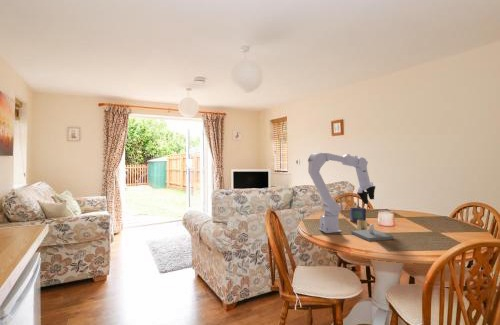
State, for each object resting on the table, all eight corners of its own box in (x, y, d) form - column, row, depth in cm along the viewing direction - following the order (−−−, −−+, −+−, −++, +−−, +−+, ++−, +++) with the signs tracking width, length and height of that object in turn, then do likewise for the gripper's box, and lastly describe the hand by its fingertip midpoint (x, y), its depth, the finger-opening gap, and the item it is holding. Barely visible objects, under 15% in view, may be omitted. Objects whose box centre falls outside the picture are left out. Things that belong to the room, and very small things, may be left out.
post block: (368, 241, 134) (368, 228, 134) (351, 233, 148) (351, 222, 148) (393, 239, 138) (393, 227, 138) (374, 232, 151) (374, 220, 151)
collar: (361, 231, 153) (361, 222, 153) (355, 228, 158) (355, 220, 158) (369, 230, 155) (369, 221, 155) (363, 228, 160) (363, 219, 160)
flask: (349, 221, 177) (350, 204, 177) (350, 220, 180) (350, 204, 180) (365, 223, 173) (365, 205, 173) (365, 222, 176) (365, 205, 176)
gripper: (364, 181, 149) (370, 205, 150) (376, 174, 159) (381, 197, 159) (352, 182, 155) (358, 205, 155) (364, 175, 164) (369, 197, 165)
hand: (369, 201), depth 158 cm, fingers open, 7 cm apart
